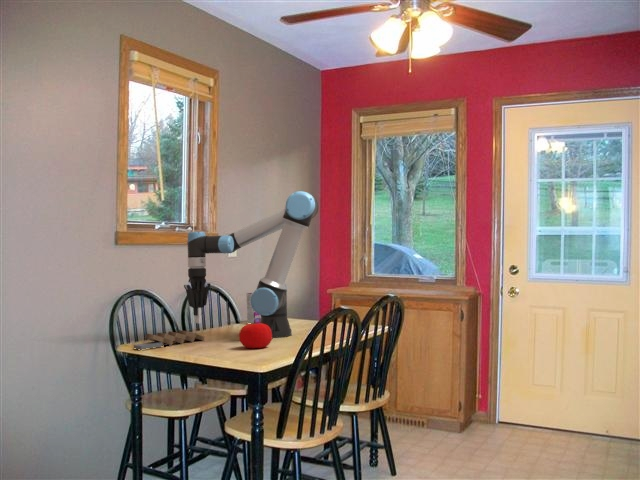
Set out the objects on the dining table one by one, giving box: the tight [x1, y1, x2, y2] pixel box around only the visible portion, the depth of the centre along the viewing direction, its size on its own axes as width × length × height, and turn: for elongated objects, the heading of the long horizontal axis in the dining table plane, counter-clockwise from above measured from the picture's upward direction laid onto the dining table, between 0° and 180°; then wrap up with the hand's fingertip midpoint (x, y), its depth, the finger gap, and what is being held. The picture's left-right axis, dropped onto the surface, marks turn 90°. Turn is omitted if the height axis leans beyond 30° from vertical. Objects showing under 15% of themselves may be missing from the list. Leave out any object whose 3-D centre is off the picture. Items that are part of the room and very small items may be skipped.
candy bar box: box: [246, 292, 261, 324], centre depth 326 cm, size 11×5×16 cm, turn 148°
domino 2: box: [144, 333, 174, 346], centre depth 253 cm, size 5×2×10 cm
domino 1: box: [133, 341, 164, 351], centre depth 249 cm, size 5×2×10 cm
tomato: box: [238, 321, 273, 349], centre depth 243 cm, size 11×13×10 cm
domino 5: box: [178, 329, 205, 341], centre depth 266 cm, size 5×2×10 cm
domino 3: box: [156, 332, 185, 345], centre depth 257 cm, size 5×2×10 cm
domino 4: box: [167, 331, 195, 343], centre depth 262 cm, size 5×2×10 cm
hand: (198, 322), depth 269 cm, fingers closed
